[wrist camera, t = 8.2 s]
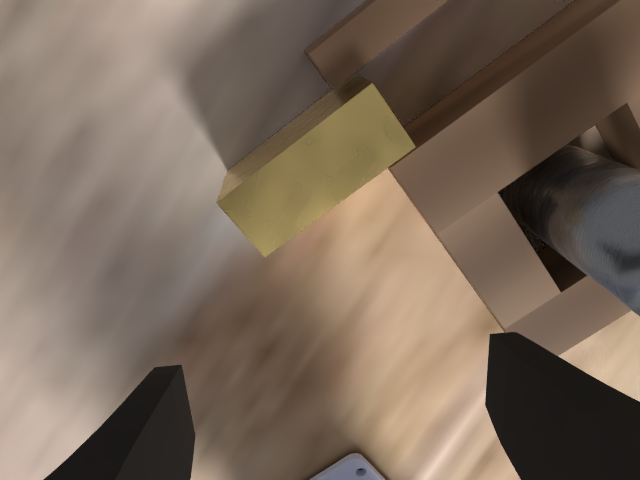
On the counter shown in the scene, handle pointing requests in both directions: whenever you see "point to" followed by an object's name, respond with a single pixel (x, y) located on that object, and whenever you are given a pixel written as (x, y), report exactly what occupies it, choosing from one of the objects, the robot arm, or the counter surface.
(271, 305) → the counter surface
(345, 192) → the khaki rectangular plank
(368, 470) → the robot arm
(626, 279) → the peg
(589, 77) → the mount
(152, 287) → the counter surface
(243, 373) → the counter surface
